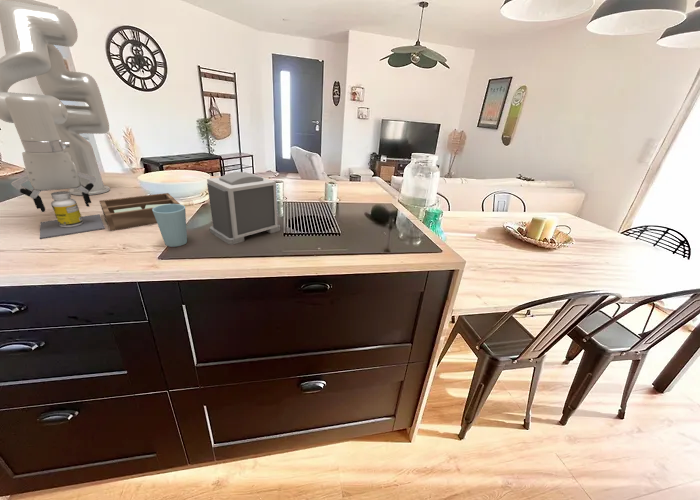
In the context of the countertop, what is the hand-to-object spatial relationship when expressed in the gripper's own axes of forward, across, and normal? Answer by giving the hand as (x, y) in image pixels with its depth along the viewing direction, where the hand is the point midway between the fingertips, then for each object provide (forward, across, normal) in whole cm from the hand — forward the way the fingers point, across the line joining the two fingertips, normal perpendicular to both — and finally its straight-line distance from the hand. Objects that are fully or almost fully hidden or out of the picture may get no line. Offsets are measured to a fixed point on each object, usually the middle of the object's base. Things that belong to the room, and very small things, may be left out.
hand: (66, 208), depth 86 cm
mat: (+6, 0, 0) cm, 6 cm away
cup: (+6, -21, +28) cm, 35 cm away
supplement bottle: (+6, 0, 0) cm, 6 cm away
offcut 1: (+6, -14, +6) cm, 16 cm away
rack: (+6, -18, +2) cm, 19 cm away
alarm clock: (+6, -41, +30) cm, 51 cm away
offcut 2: (+6, -22, +6) cm, 23 cm away
